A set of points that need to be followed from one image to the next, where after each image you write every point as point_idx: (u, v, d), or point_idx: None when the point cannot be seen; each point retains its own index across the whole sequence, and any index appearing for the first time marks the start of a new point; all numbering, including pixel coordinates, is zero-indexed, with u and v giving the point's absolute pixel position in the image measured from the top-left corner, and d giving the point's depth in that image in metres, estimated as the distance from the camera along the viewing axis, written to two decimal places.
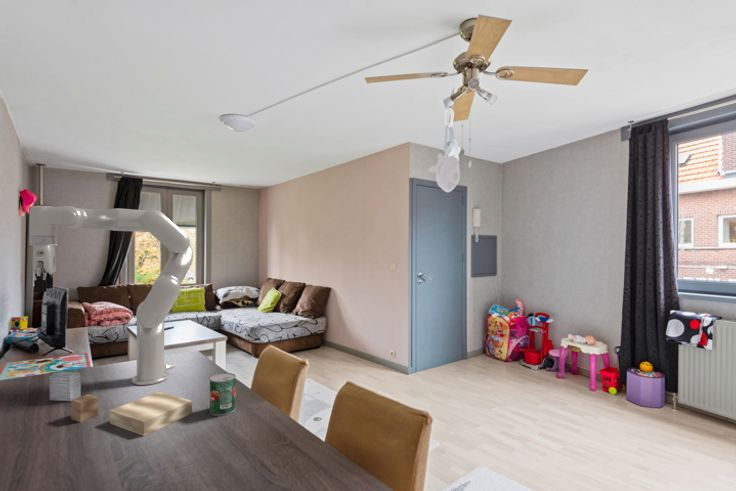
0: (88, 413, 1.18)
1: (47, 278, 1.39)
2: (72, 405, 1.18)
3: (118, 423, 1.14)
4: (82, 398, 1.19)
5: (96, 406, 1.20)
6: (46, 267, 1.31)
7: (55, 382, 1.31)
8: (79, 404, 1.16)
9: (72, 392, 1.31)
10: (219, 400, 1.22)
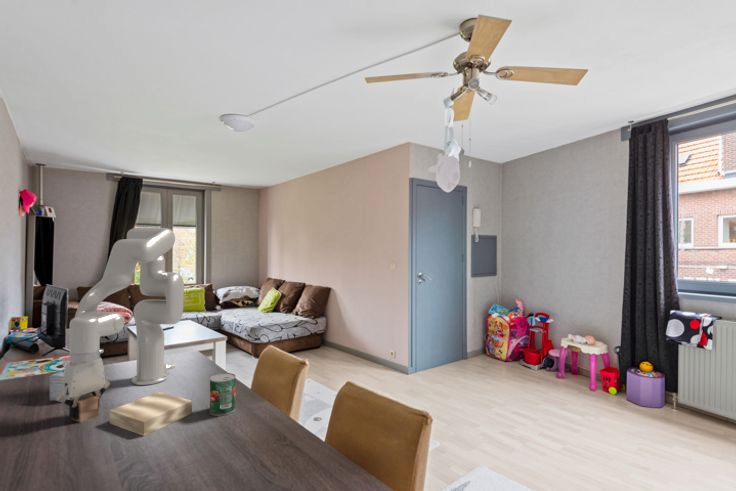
0: (88, 413, 1.18)
1: None
2: None
3: (118, 423, 1.14)
4: (82, 398, 1.19)
5: (96, 406, 1.20)
6: None
7: (55, 382, 1.31)
8: (79, 404, 1.16)
9: None
10: (219, 400, 1.22)
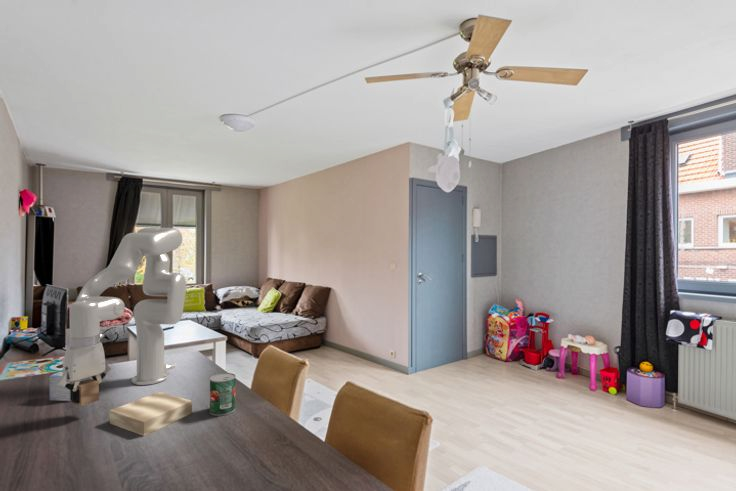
0: (89, 397, 1.18)
1: None
2: None
3: (118, 423, 1.14)
4: (83, 382, 1.19)
5: (97, 390, 1.20)
6: None
7: (55, 382, 1.31)
8: (80, 388, 1.16)
9: None
10: (219, 400, 1.22)
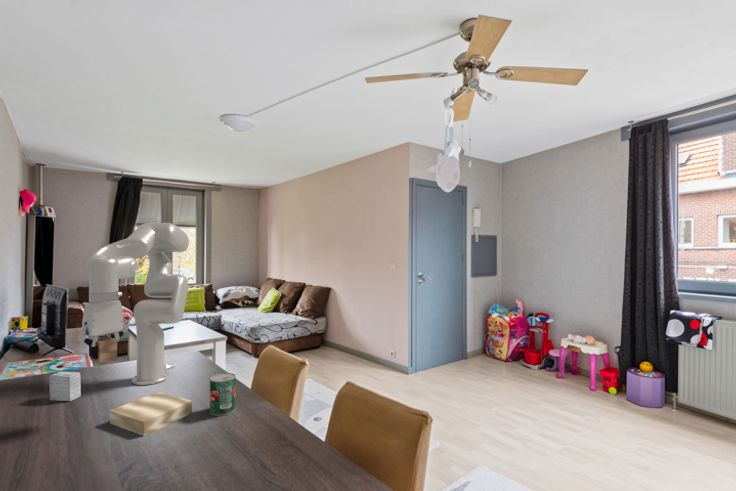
0: (107, 354, 1.18)
1: None
2: None
3: (118, 423, 1.14)
4: (101, 339, 1.19)
5: (115, 348, 1.20)
6: None
7: (55, 382, 1.31)
8: (98, 344, 1.16)
9: (72, 392, 1.31)
10: (219, 400, 1.22)
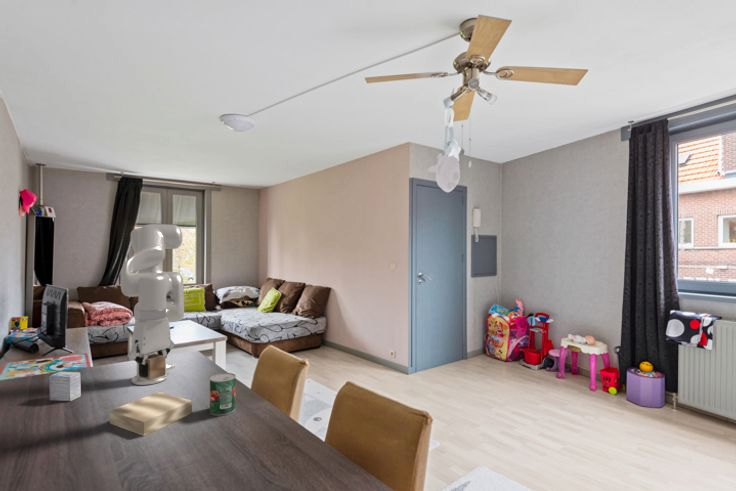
0: (157, 371, 1.18)
1: None
2: None
3: (118, 423, 1.14)
4: (150, 357, 1.19)
5: (163, 365, 1.20)
6: None
7: (55, 382, 1.31)
8: (148, 361, 1.16)
9: (72, 392, 1.31)
10: (219, 400, 1.22)
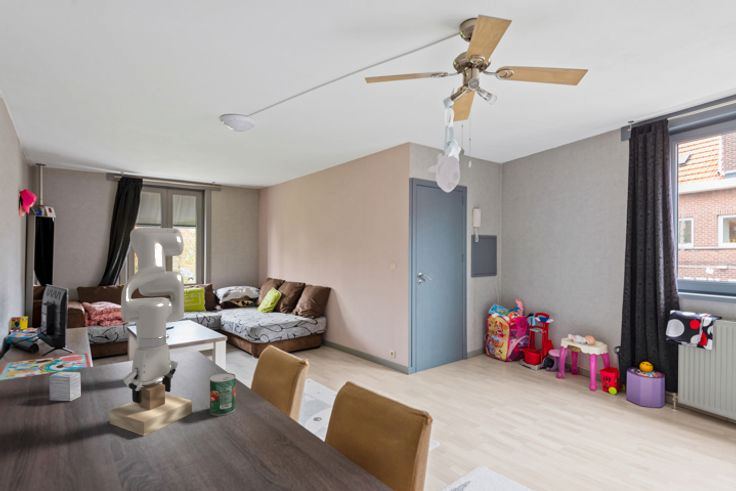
0: (157, 401, 1.18)
1: None
2: None
3: (118, 423, 1.14)
4: (150, 386, 1.19)
5: (163, 394, 1.20)
6: None
7: (55, 382, 1.31)
8: (148, 392, 1.16)
9: (72, 392, 1.31)
10: (219, 400, 1.22)
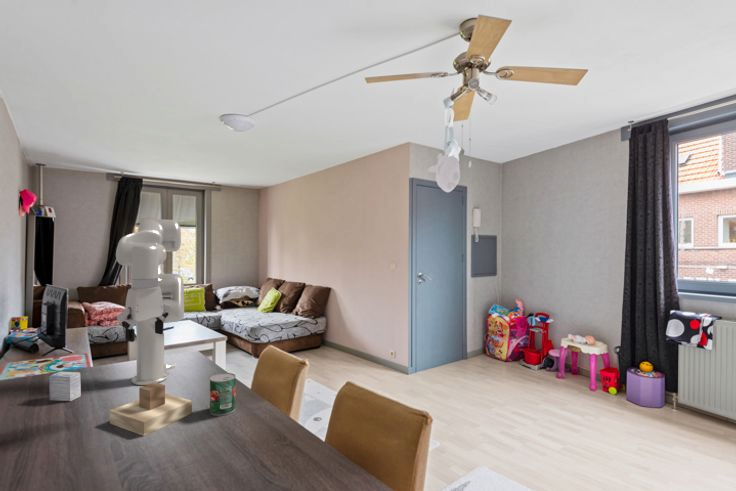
0: (157, 401, 1.18)
1: None
2: (140, 393, 1.18)
3: (118, 423, 1.14)
4: (150, 386, 1.19)
5: (163, 394, 1.20)
6: None
7: (55, 382, 1.31)
8: (148, 392, 1.16)
9: (72, 392, 1.31)
10: (219, 400, 1.22)
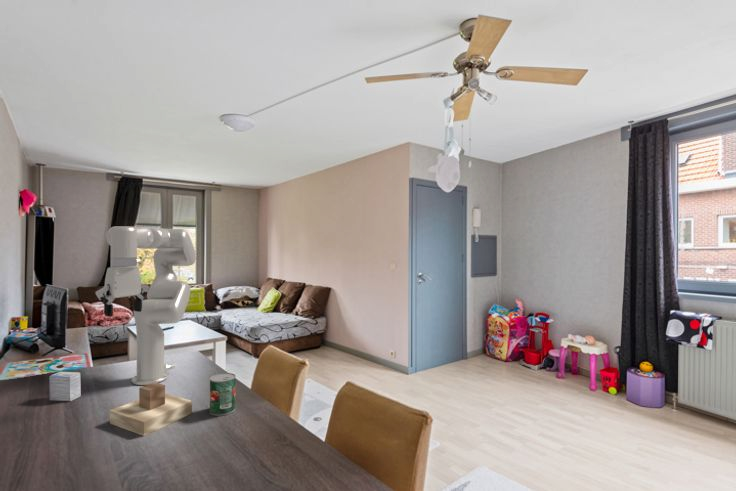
0: (157, 401, 1.18)
1: None
2: (140, 393, 1.18)
3: (118, 423, 1.14)
4: (150, 386, 1.19)
5: (163, 394, 1.20)
6: None
7: (55, 382, 1.31)
8: (148, 392, 1.16)
9: (72, 392, 1.31)
10: (219, 400, 1.22)
